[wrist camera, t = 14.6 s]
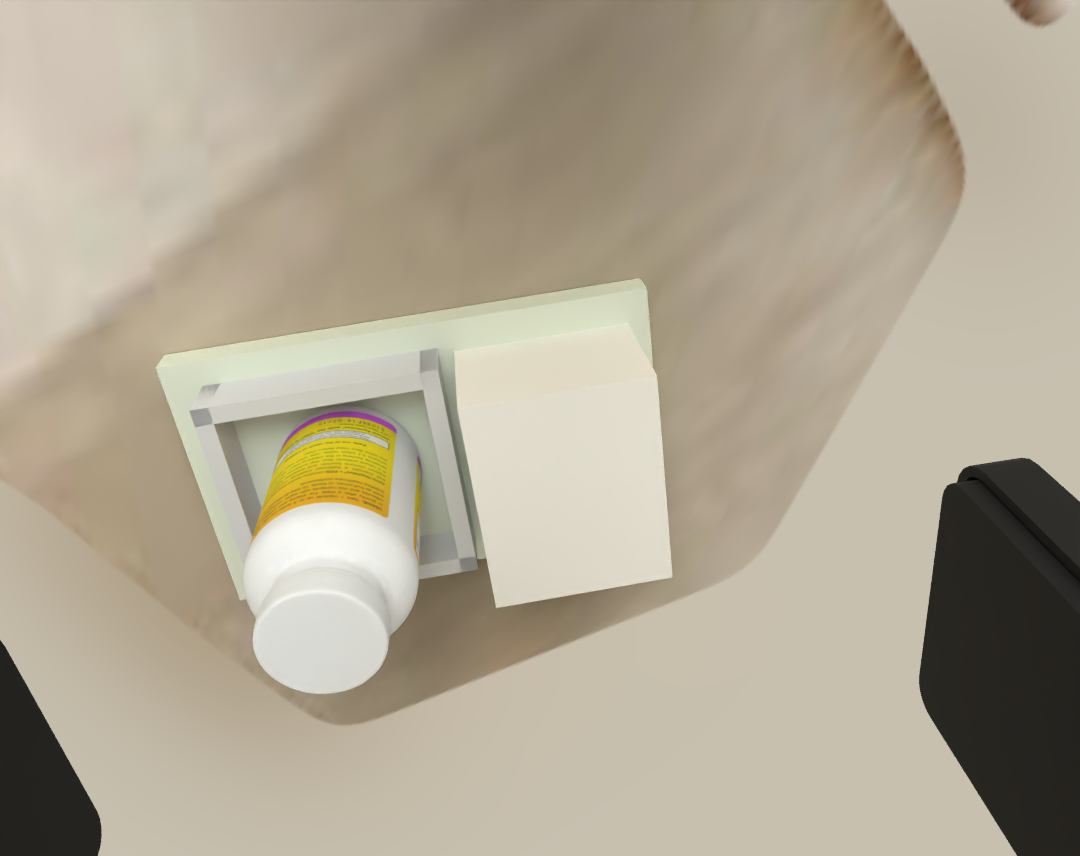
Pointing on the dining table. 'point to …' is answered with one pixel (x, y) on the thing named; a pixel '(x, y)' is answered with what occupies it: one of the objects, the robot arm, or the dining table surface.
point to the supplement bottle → (335, 550)
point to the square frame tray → (462, 432)
